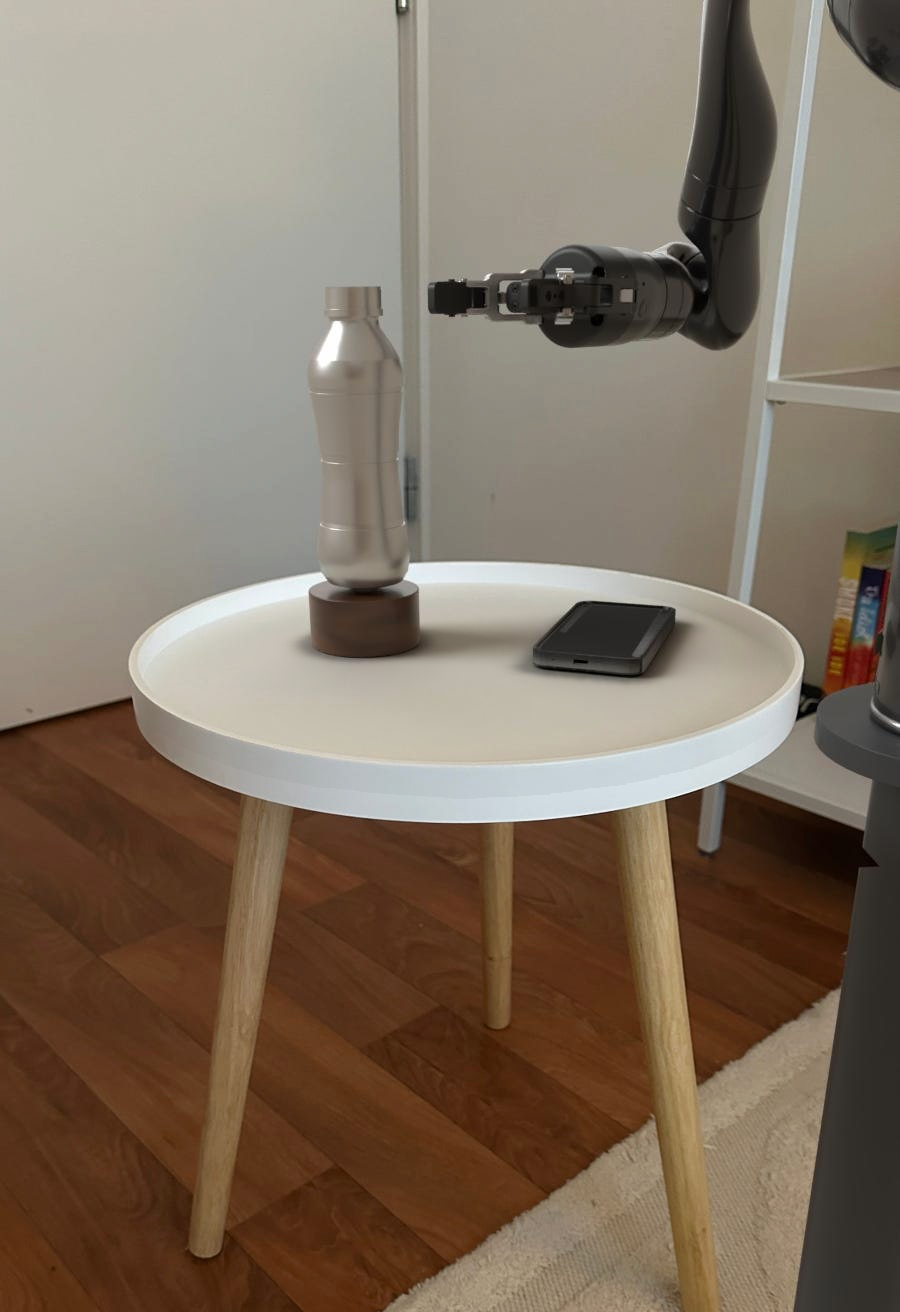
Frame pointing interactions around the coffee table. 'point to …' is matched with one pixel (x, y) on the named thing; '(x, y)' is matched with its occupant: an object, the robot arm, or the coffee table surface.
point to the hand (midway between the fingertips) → (476, 297)
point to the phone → (605, 637)
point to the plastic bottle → (358, 443)
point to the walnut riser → (364, 619)
